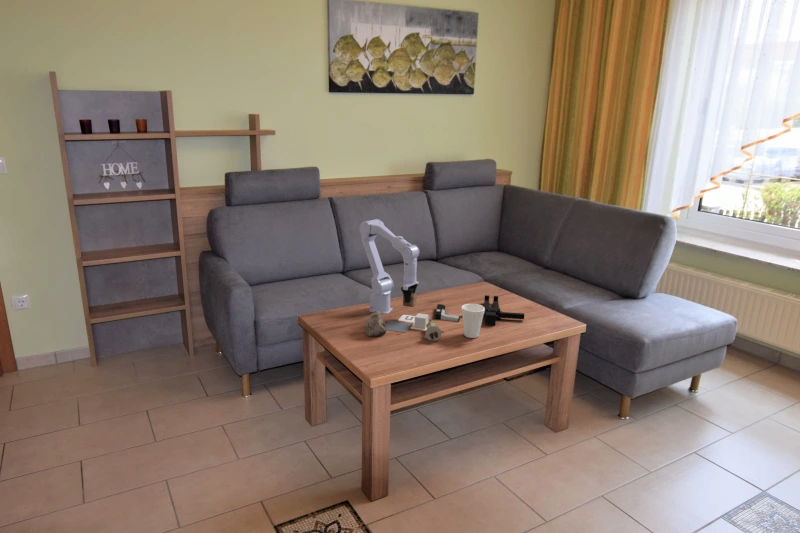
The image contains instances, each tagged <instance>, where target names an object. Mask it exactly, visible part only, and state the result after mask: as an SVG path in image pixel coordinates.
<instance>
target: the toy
mask: <svg viewBox="0 0 800 533" xmlns="http://www.w3.org/2000/svg"><path fill="white" fill-rule="evenodd" d="M483 302H484V303H483V305H484V306H483V307H484V308H485V311H484V315H483V318H484V321H485V322H484V324H485V325H490V326H491V325H492V326H495V325H496V323H497V322H496V321H500V319H510V320H511V319H512V320H513V319H514V320H515V319H516V320H525V313H521V312H510V311H509V312H506V311H503V310H501V309H500V304H499V296H498V295H493V300H492V304H493V305H492V306H491V305H490V295H487V294H486V295H484V301H483Z"/></svg>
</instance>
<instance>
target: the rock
mask: <svg viewBox="0 0 800 533" xmlns="http://www.w3.org/2000/svg"><path fill="white" fill-rule="evenodd" d="M385 322H386V321H385V318H384V317H383V316H382V313H380V311H378V310H375V311H374V312H371V314H370V315H369V316H368V318H367V319H366V320H365V325H364V333H365V334H366V335H367V336H368V337H374V336H378V337H379V336H380V337H383V336H384V335H386V333H387V330H386V328H385V327H386V326H385V325H386V323H385Z"/></svg>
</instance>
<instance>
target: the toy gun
mask: <svg viewBox="0 0 800 533" xmlns="http://www.w3.org/2000/svg"><path fill="white" fill-rule="evenodd" d="M435 310H436V311H435V315H433V316H434V317H433V319H434V320H442V321H444V320H445V321H451V322H458V323H459V322H460V320H461V316H460V315H459V316H458V315H455V314H450V313H449V312H446V305H444V304H441V303H437V306H436V309H435Z"/></svg>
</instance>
